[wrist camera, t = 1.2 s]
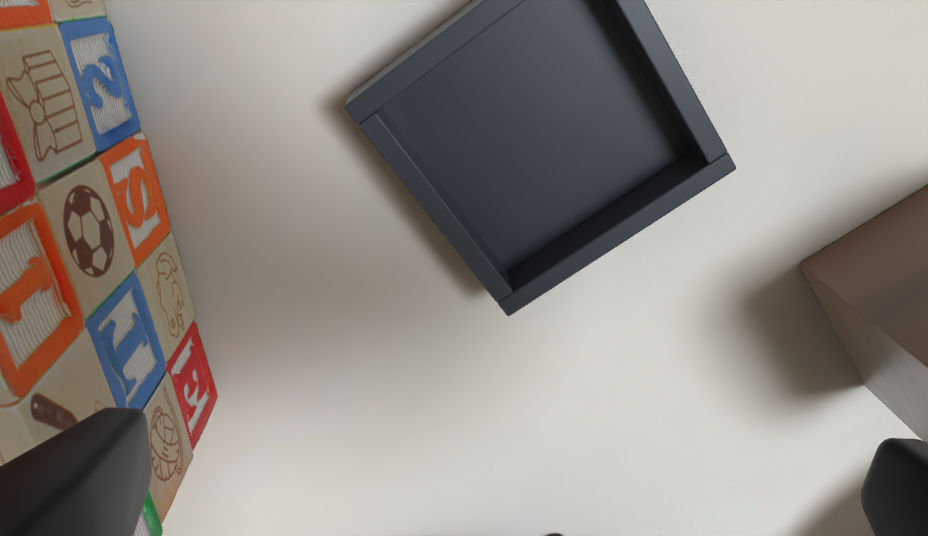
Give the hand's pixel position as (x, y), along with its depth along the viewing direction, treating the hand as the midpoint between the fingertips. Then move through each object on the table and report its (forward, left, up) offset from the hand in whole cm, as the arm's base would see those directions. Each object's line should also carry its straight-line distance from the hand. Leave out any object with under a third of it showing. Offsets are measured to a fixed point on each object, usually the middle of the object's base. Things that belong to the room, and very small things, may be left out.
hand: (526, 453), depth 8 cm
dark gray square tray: (0, -2, -14) cm, 14 cm away
